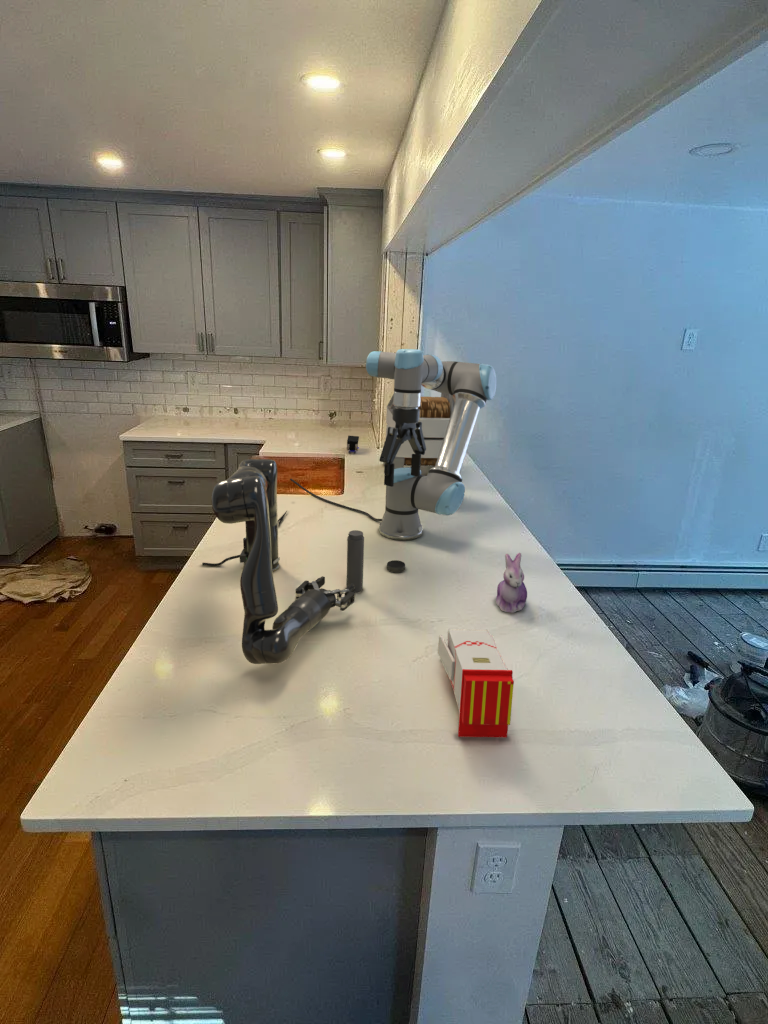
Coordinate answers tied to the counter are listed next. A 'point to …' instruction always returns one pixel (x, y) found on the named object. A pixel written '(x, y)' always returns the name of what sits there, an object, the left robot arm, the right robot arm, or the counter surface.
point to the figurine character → (352, 443)
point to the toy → (478, 682)
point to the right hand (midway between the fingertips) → (402, 480)
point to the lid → (395, 566)
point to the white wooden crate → (425, 429)
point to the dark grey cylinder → (355, 559)
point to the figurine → (512, 586)
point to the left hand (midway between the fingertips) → (338, 583)
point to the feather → (281, 518)
